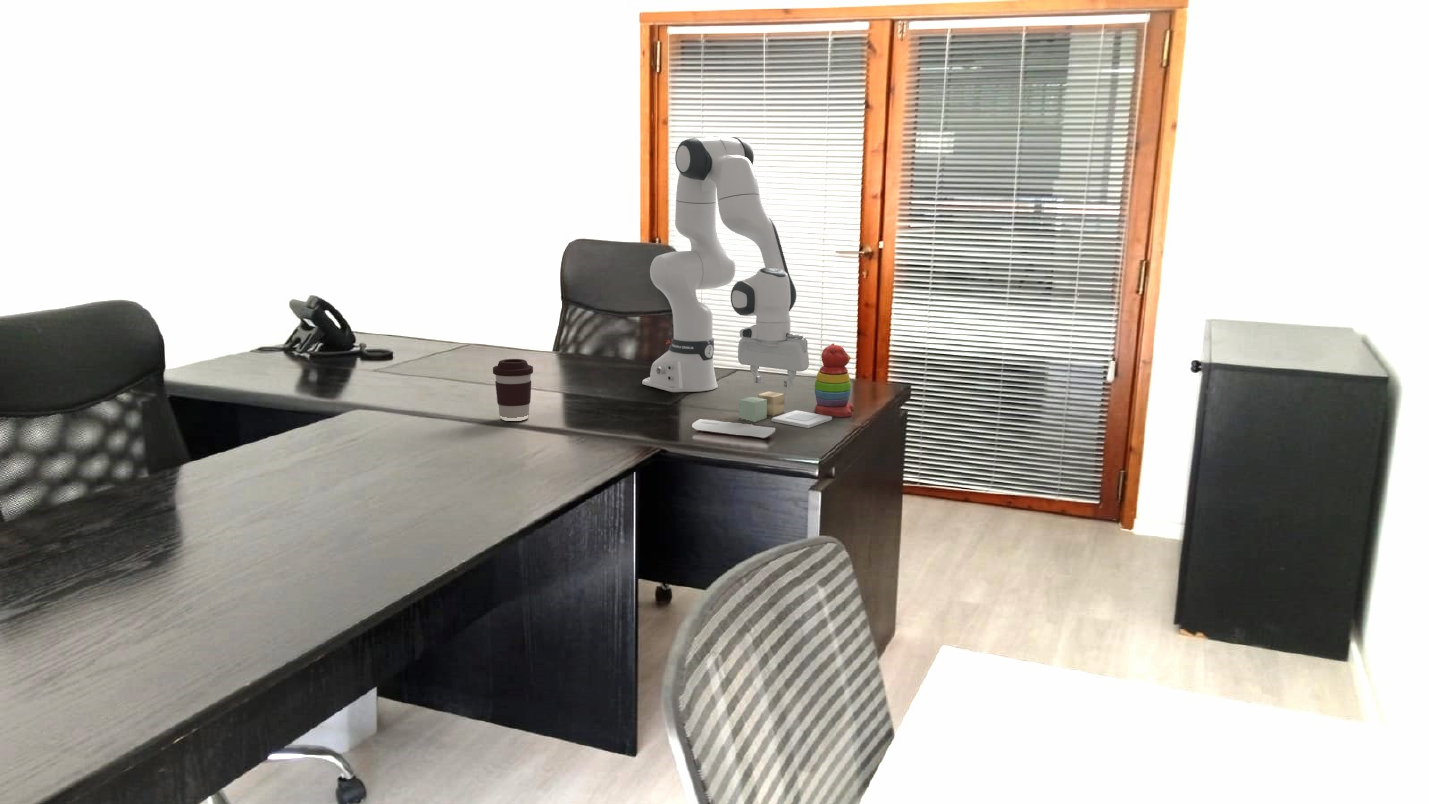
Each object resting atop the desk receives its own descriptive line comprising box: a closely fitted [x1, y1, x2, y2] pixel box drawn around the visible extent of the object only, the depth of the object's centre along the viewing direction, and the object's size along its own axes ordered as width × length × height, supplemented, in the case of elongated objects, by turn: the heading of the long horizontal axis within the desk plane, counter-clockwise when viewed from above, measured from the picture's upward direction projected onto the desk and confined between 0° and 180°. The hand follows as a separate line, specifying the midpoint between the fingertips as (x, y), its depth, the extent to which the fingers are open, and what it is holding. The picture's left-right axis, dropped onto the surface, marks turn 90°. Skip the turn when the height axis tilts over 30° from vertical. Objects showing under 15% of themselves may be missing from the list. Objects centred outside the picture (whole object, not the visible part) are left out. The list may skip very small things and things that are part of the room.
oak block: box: [757, 391, 785, 417], centre depth 287 cm, size 5×5×5 cm
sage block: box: [738, 396, 768, 423], centre depth 281 cm, size 5×5×5 cm
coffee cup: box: [492, 358, 534, 418], centre depth 278 cm, size 10×10×15 cm
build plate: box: [771, 409, 833, 429], centre depth 280 cm, size 11×11×1 cm
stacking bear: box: [814, 343, 855, 418], centre depth 287 cm, size 11×10×18 cm
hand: (773, 384), depth 286 cm, fingers open, 8 cm apart
